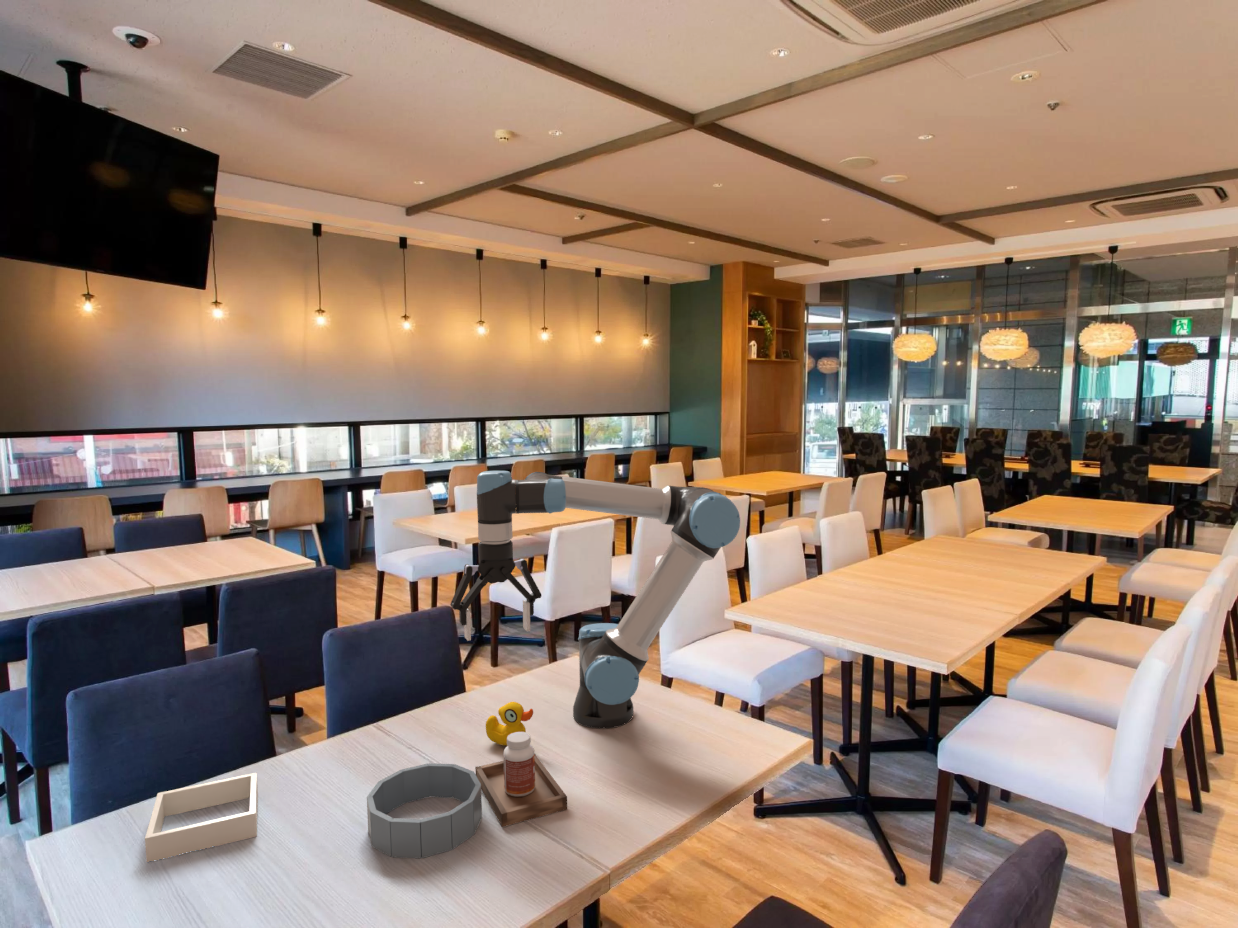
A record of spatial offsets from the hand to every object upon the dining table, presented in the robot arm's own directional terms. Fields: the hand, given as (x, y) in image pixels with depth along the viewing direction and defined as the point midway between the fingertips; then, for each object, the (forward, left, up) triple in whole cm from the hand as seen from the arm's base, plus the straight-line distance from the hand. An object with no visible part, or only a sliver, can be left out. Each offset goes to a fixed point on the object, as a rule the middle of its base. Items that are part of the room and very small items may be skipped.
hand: (497, 634), depth 161 cm
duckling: (-2, -1, -27) cm, 27 cm away
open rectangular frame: (+58, +4, -27) cm, 64 cm away
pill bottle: (+2, +20, -26) cm, 33 cm away
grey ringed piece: (+21, +22, -27) cm, 40 cm away
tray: (+2, +20, -27) cm, 33 cm away
